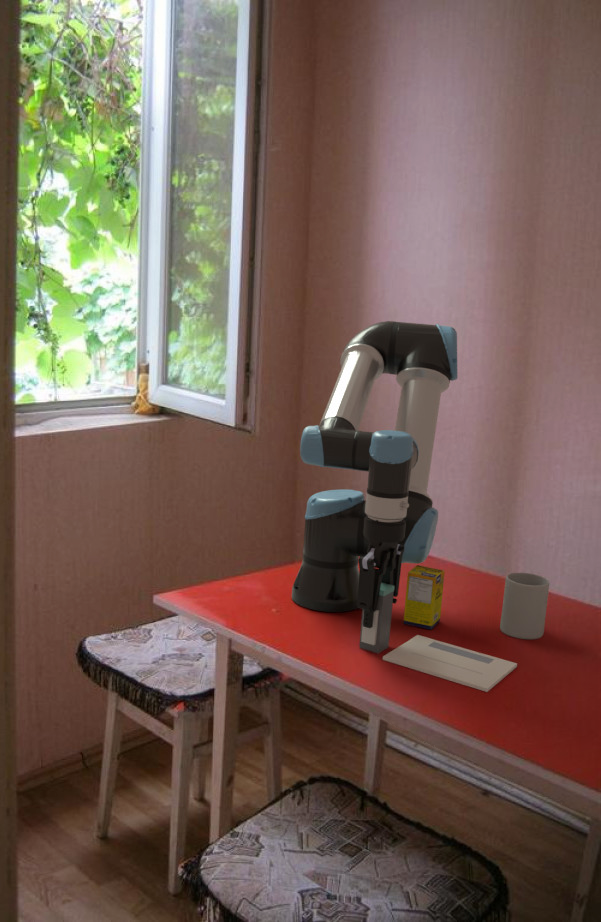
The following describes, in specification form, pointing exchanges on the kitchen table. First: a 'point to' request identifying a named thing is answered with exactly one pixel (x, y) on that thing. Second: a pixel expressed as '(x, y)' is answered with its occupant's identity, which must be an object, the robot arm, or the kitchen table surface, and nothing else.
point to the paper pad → (451, 662)
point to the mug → (524, 605)
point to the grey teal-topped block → (381, 620)
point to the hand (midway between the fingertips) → (374, 639)
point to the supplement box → (423, 597)
